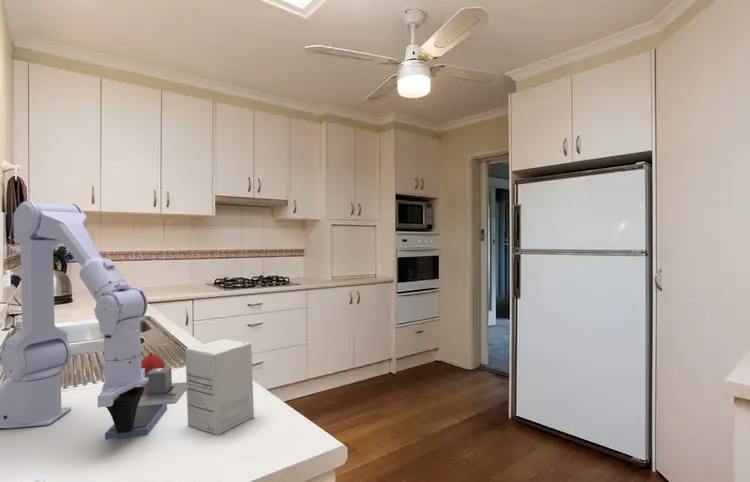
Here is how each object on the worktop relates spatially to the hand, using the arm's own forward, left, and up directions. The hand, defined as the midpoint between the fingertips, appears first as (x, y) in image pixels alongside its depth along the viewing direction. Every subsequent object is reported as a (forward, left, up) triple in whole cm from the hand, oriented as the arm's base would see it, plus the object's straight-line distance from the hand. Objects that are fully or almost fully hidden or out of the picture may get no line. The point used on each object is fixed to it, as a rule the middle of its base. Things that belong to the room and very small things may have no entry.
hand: (124, 431), depth 75 cm
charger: (-1, +20, -1) cm, 20 cm away
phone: (0, +6, -2) cm, 6 cm away
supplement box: (+16, +3, -1) cm, 16 cm away
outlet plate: (-1, +20, -1) cm, 20 cm away
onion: (-6, +30, -1) cm, 31 cm away
